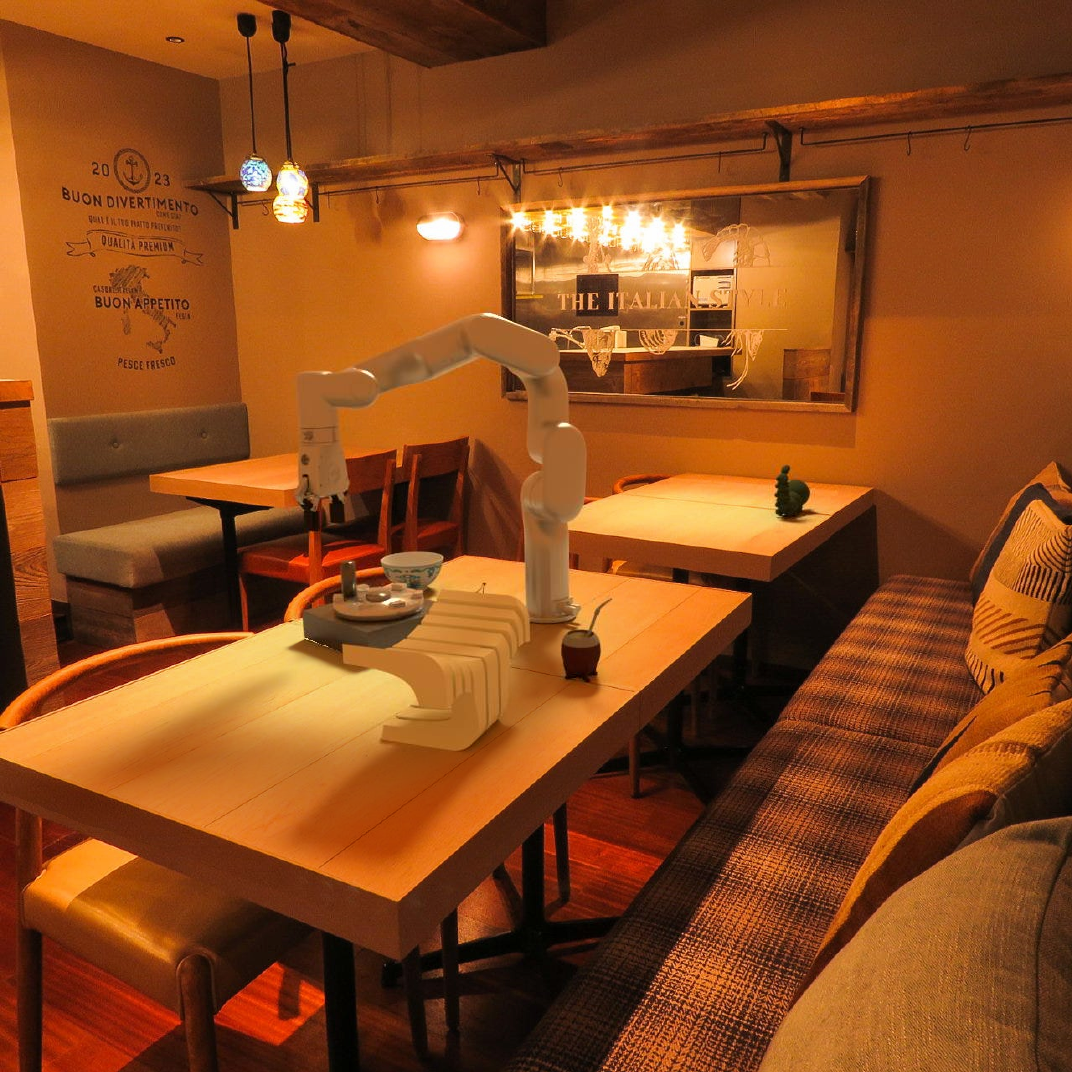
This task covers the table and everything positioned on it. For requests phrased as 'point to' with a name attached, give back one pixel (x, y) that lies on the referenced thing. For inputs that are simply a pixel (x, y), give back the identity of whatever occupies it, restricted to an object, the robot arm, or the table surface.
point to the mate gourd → (581, 651)
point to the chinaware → (412, 568)
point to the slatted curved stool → (452, 668)
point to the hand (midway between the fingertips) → (325, 526)
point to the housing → (358, 628)
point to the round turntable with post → (374, 599)
